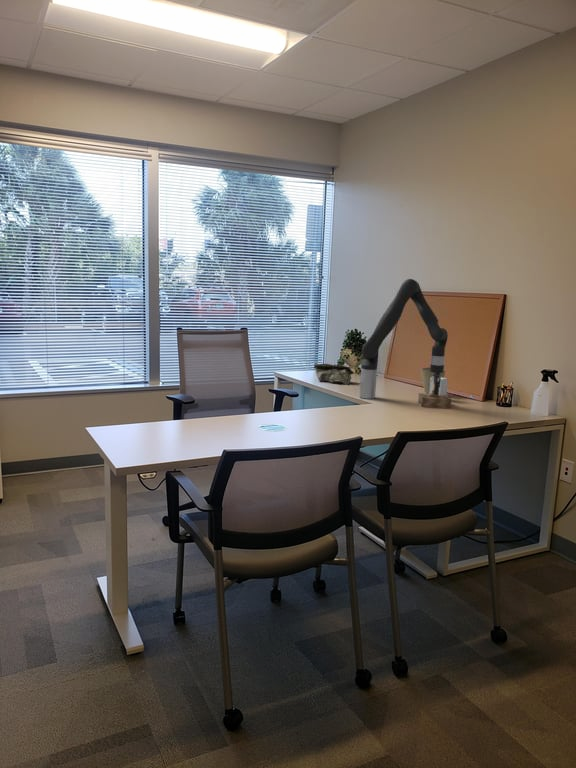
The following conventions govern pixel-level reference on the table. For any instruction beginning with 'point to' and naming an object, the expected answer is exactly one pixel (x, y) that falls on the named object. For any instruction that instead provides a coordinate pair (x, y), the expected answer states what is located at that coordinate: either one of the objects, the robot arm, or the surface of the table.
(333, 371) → the mossy rock
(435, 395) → the beech peg
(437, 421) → the table surface
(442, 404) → the walnut board
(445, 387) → the small box
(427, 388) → the plant pot
